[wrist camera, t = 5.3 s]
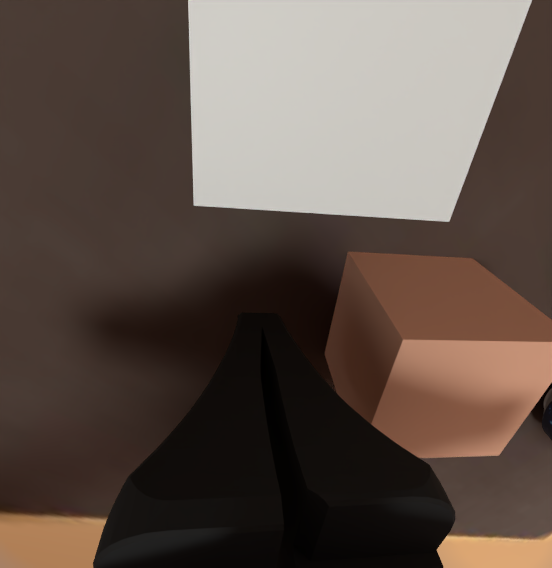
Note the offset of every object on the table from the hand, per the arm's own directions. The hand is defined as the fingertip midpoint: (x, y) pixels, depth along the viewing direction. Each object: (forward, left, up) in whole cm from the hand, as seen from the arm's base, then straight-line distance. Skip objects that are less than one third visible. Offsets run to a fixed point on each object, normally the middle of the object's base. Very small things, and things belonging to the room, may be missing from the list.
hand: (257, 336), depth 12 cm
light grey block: (+1, +8, -2) cm, 8 cm away
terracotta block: (+6, 0, -2) cm, 6 cm away
